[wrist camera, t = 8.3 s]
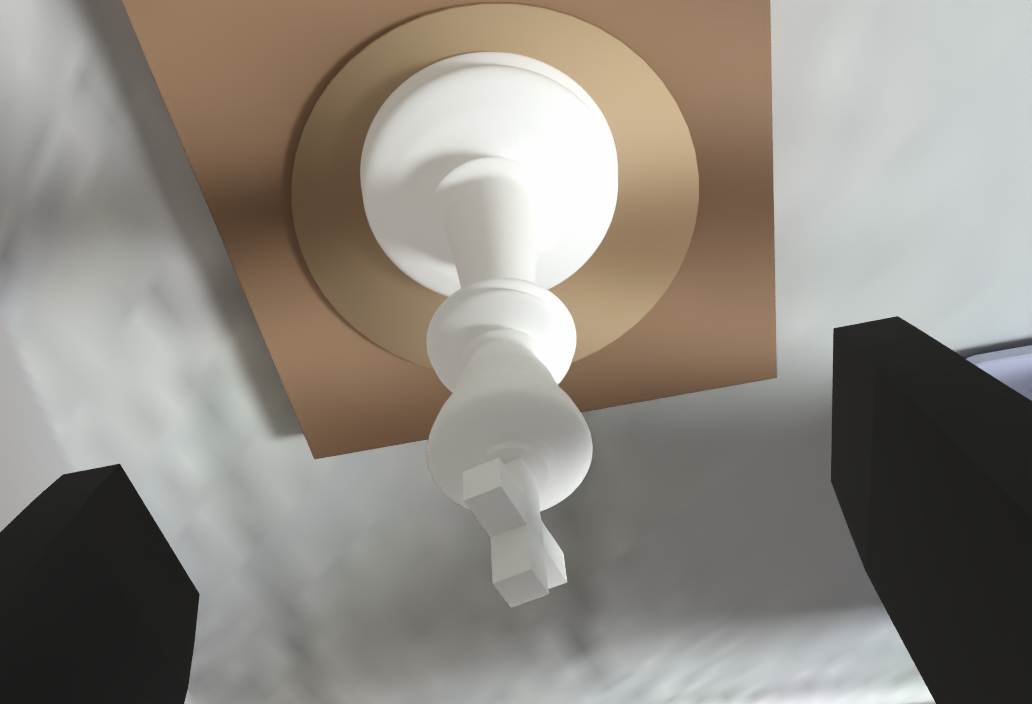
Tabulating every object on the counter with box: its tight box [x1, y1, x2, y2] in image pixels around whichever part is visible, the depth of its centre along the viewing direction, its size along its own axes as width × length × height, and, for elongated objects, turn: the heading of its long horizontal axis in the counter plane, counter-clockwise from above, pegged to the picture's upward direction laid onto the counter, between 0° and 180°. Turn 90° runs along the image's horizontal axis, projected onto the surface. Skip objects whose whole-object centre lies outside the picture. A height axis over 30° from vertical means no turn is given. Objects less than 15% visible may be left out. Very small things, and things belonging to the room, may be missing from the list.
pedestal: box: [122, 0, 777, 459], centre depth 18 cm, size 11×11×1 cm
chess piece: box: [360, 52, 618, 608], centre depth 13 cm, size 5×5×10 cm
